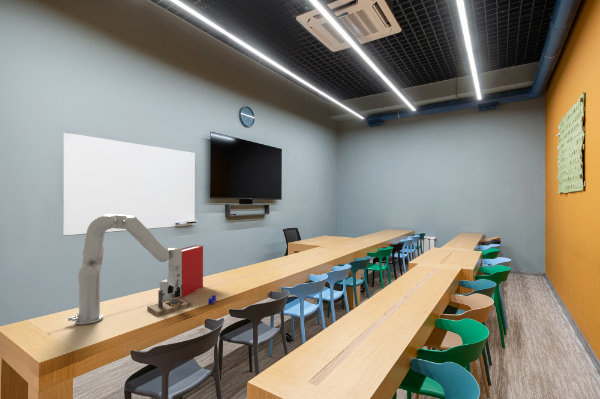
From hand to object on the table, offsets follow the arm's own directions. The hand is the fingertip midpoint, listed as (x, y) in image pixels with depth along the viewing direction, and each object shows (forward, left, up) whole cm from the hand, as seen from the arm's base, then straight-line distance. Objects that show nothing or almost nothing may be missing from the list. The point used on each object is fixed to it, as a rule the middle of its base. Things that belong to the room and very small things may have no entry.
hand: (173, 294), depth 188 cm
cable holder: (+20, -10, -8) cm, 24 cm away
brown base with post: (-2, 0, -8) cm, 8 cm away
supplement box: (+5, +19, -8) cm, 21 cm away
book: (+23, +24, -8) cm, 34 cm away
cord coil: (+1, 0, -8) cm, 8 cm away
